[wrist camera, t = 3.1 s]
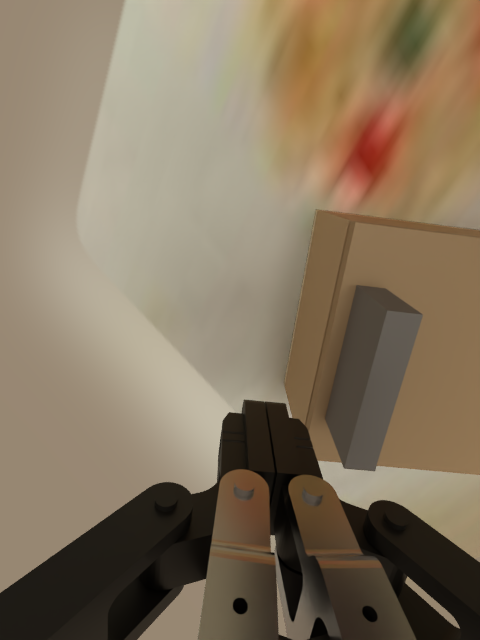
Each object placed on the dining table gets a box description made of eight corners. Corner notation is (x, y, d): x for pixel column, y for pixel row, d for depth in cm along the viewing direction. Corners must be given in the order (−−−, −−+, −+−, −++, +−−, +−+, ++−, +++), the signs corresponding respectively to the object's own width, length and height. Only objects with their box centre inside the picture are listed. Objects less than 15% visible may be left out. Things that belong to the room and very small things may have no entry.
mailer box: (582, 243, 27) (715, 266, 20) (512, 405, 32) (596, 473, 25) (316, 209, 26) (348, 220, 19) (283, 382, 31) (299, 446, 23)
